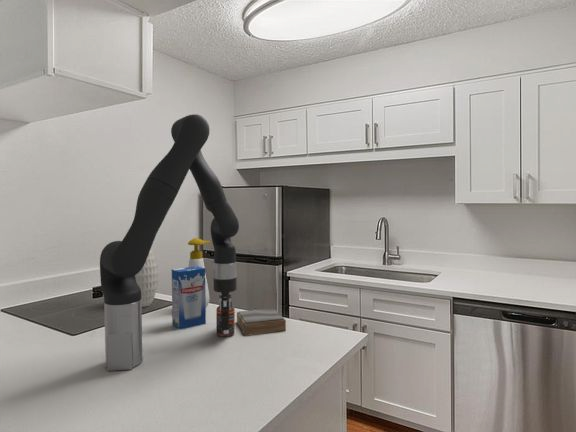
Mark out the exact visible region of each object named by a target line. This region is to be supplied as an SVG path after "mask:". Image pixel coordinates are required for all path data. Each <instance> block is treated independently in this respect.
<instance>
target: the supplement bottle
mask: <svg viewBox="0 0 576 432" xmlns="http://www.w3.org/2000/svg"><path fill="white" fill-rule="evenodd" d="M232 304H233V301H232V299H231V310H230V311H229V315H230V317H229V330H222V319H221V311H220V303H218V306H217V307H216V310H215V311H216V313H215V314H216V324H215V325H216V329H215V330H216V335H217V336H218V337H225V338H226V337H231V336H233V335H234V334H235V330H236V329H235V319H236V318H235V313H236V312H235V306H234V305H232ZM226 314H227V315H228V312H223V315H226Z"/></svg>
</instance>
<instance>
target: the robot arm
mask: <svg viewBox="0 0 576 432" xmlns="http://www.w3.org/2000/svg"><path fill="white" fill-rule="evenodd" d="M170 134H171V137H172V141H173V142H174V143H173V145H172V147H171V148H170V149H169V150H168V153H166V155H165V156H164V157H163V158H161V160H160V161H159V162H158V163H157V165H156V166H155V167H154V168H153V169H152V170H151V172H150V174H149V175H148V176H147V178H146V180H145V182H144V184H143V186H142V188H141V190H140V191H139V194H138V196H137V200H136V206H135V212H134V218H133V221H132V222H131V225H130V226H129V229H128V230H127V231H126V233H125V236H124V237H123V239H122V240H115V241H112V242H109V243H108V244H106V245H105V246H104V248H102V251H101V253H100V255H99V273H100V276H99V277H100V287H101V293H102V295H103V303H104V305H103V307H104V347H105V348H104V352H105V368H106V370H107V371H108V372H109V371H110V372H111V371H126V370H133V369H134V368H135V367H137V366H139V365H140V364H141V363H142V362H143V324H142V323H143V322H142V321H143V316H142V314H143V312H142V308H143V307H142V304H141V289H140V287H139V286H138V284H137V282H136V278H135V275H136V274H138V273H139V272H140V271H141V269H142V268H143V266H144V264H145V262H146V260H147V257H148V254H149V252H150V249H152V246H153V244H154V241H155V238H156V237H157V234H158V232H159V230H160V228H161V226H162V224H163V222H164V220H165V219H166V216H167V214H168V213H169V211H170V209H171V207H172V205H173V203H174V201H175V199H176V197H177V195H178V193H179V191H180V189H181V187H182V184H183V183H184V181H185V179H186V177H187V175H188V173H189V171H190V172H191V175H192V177H193V179H194V181H195V183H196V185H197V187H198V190H199V192H200V193H199V194H200V195H201V198H202V201H203V204H204V206H205V208H206V210H207V211H208V212H210V213H211V215H212V216H213V218H212V220H211V223H210V235H211V237H210V238H211V241H212V246H213V252H214V253H213V291H214V292H216V293H221V294H219V297H218V302H219V303H220V304H219V303H218V304H219V306H220V311H221V319H222V330H229V317H230V315H229V311H230V310H231V300H232V294H230V293H232V292H235V291H237V287H238V282H237V281H238V277H237V275H238V274H237V273H238V271H237V261H236V260H237V253H236V252H237V251H236V246H235V245H234V244H233V243H232V240H231V238H233V237H235V236H236V235H237V234H238V232H239V228H240V223H239V220H238V217H237V215H236V213H235V212H234V210H233V208H232V207H231V205H230V204H229V202H228V200H227V197H226V195H225V192H224V189H223V186H222V184H221V182H220V180H219V178H218V176H217V175H216V173H215V172H214V171H213V169H212V168H211V167H210V166H209V164H208V162H207V161H206V159H205V157H204V154H203V153H202V148H203V147H204V146H205V144H206V142H208V139H209V136H210V124H209V122H208V120H207V119H206V118H205V117H204V116H203V115H200V114H197V113H196V114H195V113H193V114H188V115H186V116H183V117H182V118H179V119H177V120H175V121H174V123H172V125H171V129H170ZM223 312H228V315H227V314H226V315H223Z"/></svg>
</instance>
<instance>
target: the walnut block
mask: <svg viewBox="0 0 576 432" xmlns="http://www.w3.org/2000/svg"><path fill="white" fill-rule="evenodd" d="M286 322H287V321H286V319H285V318H284V317H283V316H282V315H281V314H280V312H278V311H277V310H276V309H275V308H271V307H270V308H262V309H260V308H259V309H253V310H252V309H251V310H243V311H238V312H236V323H237V325H238V326H239V328H240V329H242V330H241V331H242V333H243V332H244V333H243V335H244V336H251V335H250V334H253V335H261V334H269V333H276V332H285V331H286V329H287V327H286V326H287V325H286V324H287V323H286Z"/></svg>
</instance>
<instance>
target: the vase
mask: <svg viewBox="0 0 576 432" xmlns="http://www.w3.org/2000/svg"><path fill="white" fill-rule="evenodd" d="M135 278H136V282H137V284H138V286H139V287H140V289H141V304H142V308H145V307H146V306H147V307H150V306H151V305H152V303H153V300H154V299H155V296H156V294H157V290H158V285H159V266H158V261H157V257H156V255H155V253H154V250H153V249H152V248H151V249H150V252H149V254H148V257H147V260H146V262H145V264H144V266H143V268H142V269H141V271H140V272H139V273H138V274H136V275H135Z"/></svg>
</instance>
